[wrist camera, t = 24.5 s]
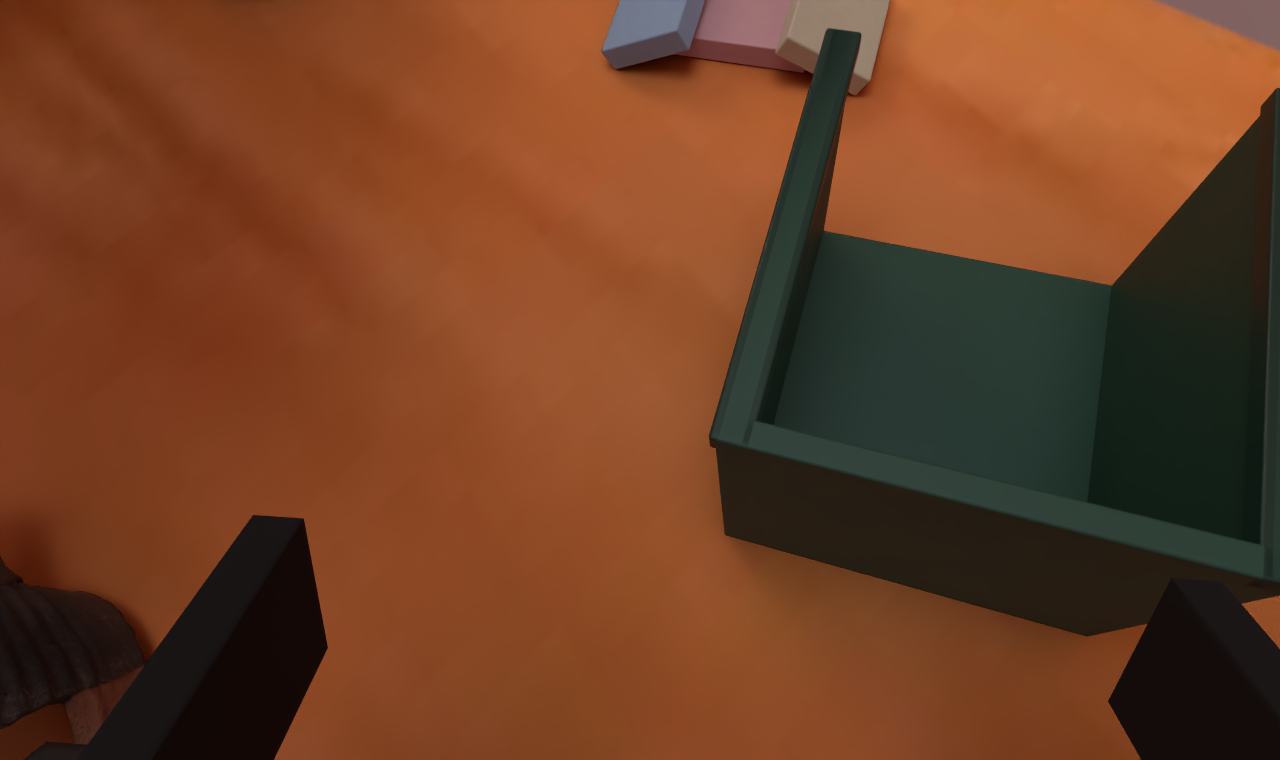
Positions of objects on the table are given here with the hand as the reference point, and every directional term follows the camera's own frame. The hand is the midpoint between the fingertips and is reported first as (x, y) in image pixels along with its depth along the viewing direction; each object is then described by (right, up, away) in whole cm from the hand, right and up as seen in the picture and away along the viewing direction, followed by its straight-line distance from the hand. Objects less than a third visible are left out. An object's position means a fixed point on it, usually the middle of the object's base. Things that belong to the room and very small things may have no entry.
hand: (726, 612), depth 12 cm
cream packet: (+6, +17, +16) cm, 24 cm away
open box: (+7, +3, +12) cm, 14 cm away
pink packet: (+3, +17, +17) cm, 25 cm away
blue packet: (-1, +18, +17) cm, 25 cm away
